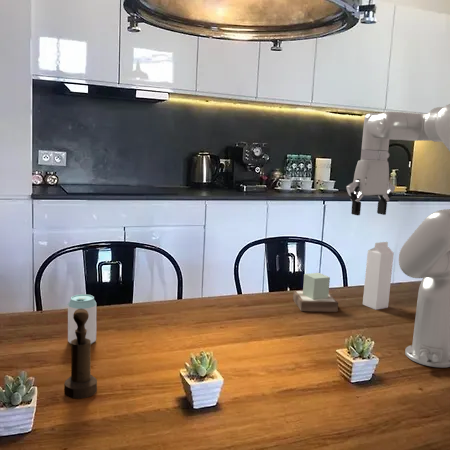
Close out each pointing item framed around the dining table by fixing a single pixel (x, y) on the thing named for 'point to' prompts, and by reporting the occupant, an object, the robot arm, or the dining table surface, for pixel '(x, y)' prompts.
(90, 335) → the can
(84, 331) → the dark brown tall piece
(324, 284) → the block
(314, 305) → the plinth
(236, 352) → the dining table surface
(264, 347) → the dining table surface
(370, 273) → the milk
